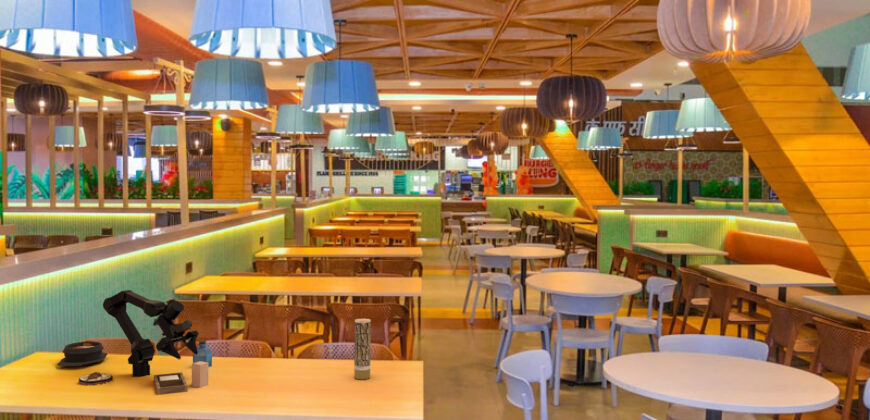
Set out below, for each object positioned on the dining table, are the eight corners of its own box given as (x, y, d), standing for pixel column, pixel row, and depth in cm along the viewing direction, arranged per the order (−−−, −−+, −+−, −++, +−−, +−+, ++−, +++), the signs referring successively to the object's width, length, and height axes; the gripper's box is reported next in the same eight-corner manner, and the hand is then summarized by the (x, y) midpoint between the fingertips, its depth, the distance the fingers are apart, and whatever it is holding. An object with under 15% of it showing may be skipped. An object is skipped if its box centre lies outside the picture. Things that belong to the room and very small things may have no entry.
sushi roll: (96, 389, 284) (96, 378, 284) (67, 385, 289) (67, 375, 288) (123, 379, 298) (123, 369, 298) (95, 376, 303) (95, 366, 302)
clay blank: (191, 388, 285) (191, 363, 285) (199, 385, 289) (199, 361, 289) (200, 389, 283) (200, 365, 283) (208, 386, 287) (208, 362, 287)
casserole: (80, 355, 336) (80, 338, 335) (117, 357, 334) (117, 339, 333) (46, 369, 311) (46, 350, 310) (86, 371, 309) (86, 352, 309)
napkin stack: (160, 385, 285) (160, 381, 285) (159, 381, 291) (159, 376, 291) (179, 384, 288) (179, 379, 288) (177, 379, 294) (177, 374, 294)
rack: (187, 393, 278) (187, 385, 278) (157, 396, 273) (157, 388, 273) (181, 379, 297) (181, 372, 297) (153, 382, 292) (153, 375, 292)
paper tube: (367, 380, 299) (368, 321, 298) (352, 379, 301) (352, 321, 300) (372, 376, 306) (372, 319, 305) (357, 375, 307) (357, 318, 306)
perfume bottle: (211, 366, 320) (212, 339, 320) (206, 369, 314) (206, 342, 313) (198, 365, 321) (198, 339, 320) (192, 369, 314) (192, 342, 314)
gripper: (161, 318, 282) (181, 348, 277) (195, 310, 298) (215, 339, 294) (146, 335, 285) (167, 366, 281) (181, 327, 302) (201, 356, 298)
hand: (188, 356), depth 288 cm, fingers open, 9 cm apart
